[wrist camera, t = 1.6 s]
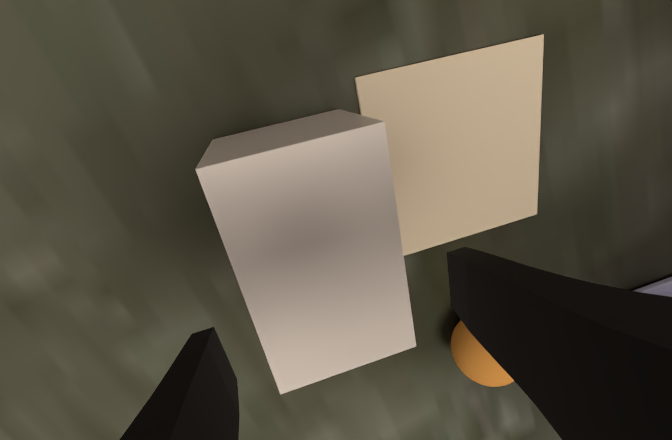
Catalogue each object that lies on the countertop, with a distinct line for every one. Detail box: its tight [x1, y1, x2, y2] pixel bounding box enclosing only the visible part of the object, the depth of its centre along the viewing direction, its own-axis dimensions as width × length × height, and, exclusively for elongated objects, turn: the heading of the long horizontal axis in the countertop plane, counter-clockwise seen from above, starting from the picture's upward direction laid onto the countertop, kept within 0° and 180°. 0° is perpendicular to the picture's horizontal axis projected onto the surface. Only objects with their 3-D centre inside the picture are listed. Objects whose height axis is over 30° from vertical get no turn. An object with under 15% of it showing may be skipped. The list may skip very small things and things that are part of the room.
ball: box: [451, 320, 514, 387], centre depth 22 cm, size 4×4×4 cm
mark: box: [354, 34, 544, 256], centre depth 19 cm, size 10×10×1 cm
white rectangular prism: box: [195, 109, 416, 394], centre depth 15 cm, size 10×6×6 cm, turn 11°
